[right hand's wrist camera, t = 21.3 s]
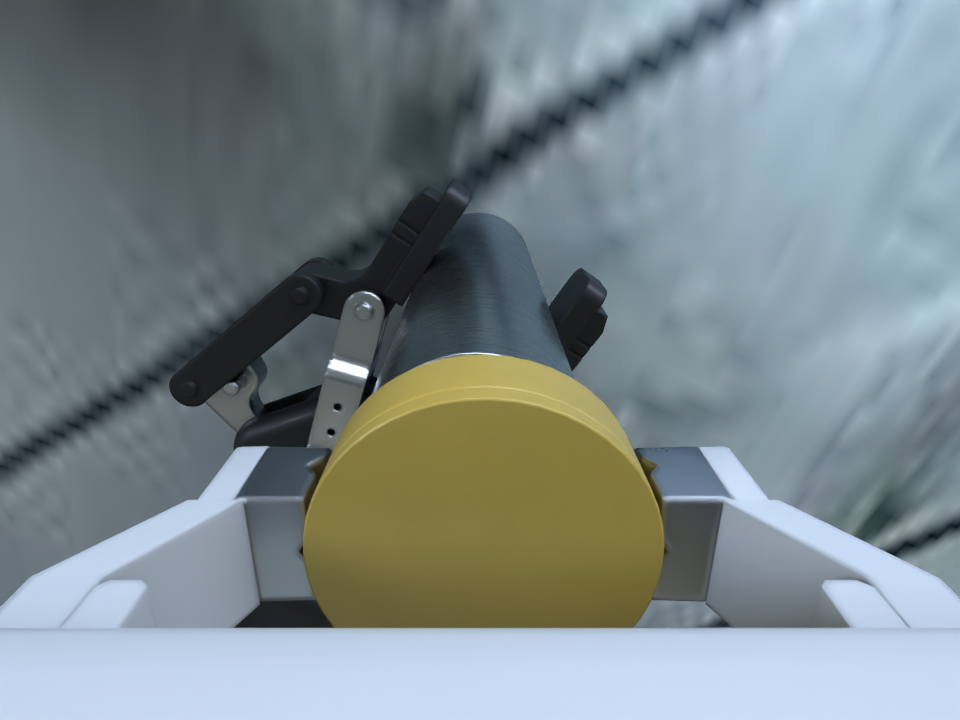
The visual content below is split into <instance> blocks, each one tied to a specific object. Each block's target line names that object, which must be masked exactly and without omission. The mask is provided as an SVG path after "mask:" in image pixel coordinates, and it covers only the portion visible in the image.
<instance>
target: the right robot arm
mask: <svg viewBox="0 0 960 720" xmlns="http://www.w3.org/2000/svg"><path fill="white" fill-rule="evenodd" d="M634 452H635V454H636V456H637V459H638V461H639V463H640V465H641V467H642V469H643V472H644V474H645V476H646V478H647V480H648V482H649V485H650V487H651V489H652V492H653V494H654V496H655V499H656V501H657V504H658V506H659V510H660V514H661V519H662V523H663V530H664V544H665V546H664V557H663V566H662V570H661V574H660V578H659V582H658V585H657V588H656V590H655V592H654V595H653V597H652V599H651V600H671V601H706V605H708V606H709V607H710V608H711V609H712V610H713V611H714V612H715V613H717V614H718V615H719V616H720V617H721V618H722V619H723V620H725V621H726V622H727V623H728V624H729V625H730V626H731V627H732V628H234V627H235V626H236V625H237V624H239V623H240V622H241V621H242V620H243V619H244V618H245V617H246V616H248V615H249V614H250V613H251V612H252V611H253V610H254V609H255V608H257V607H258V606H259V605H260V601H294V600H316V599H315V597H314V595H313V592H312V589H311V586H310V584H309V581H308V578H307V574H306V569H305V563H304V557H303V532H304V525H305V518H306V514H307V511H308V508H309V505H310V502H311V499H312V496H313V494H314V491H315V489H316V487H317V485H318V483H319V480H320V478H321V476H322V474H323V471H324V469H325V467H326V465H327V463H328V460H329V458H330V456H331V454H332V450H331V448H313V447H269V446H252V447H238V448H236V449H235V450H234V452H233V453H232V454H231V456H230V457H229V458H228V460H227V461H226V462H225V464H224V465H223V466H222V468H221V469H220V470H219V472H218V473H217V474H216V476H215V477H214V478H213V480H212V481H211V482H210V484H209V485H208V486H207V488H206V489H205V490H204V492H203V493H202V494H201V496H200V497H199V498H198V500H187V501H184V502H182V503H180V504H178V505H176V506H174V507H172V508H170V509H168V510H166V511H164V512H162V513H160V514H158V515H156V516H154V517H152V518H150V519H148V520H146V521H144V522H142V523H140V524H137V525H135V526H133V527H131V528H129V529H127V530H125V531H123V532H121V533H119V534H117V535H115V536H113V537H111V538H109V539H107V540H105V541H103V542H101V543H99V544H97V545H95V546H93V547H90V548H88V549H86V550H84V551H82V552H80V553H78V554H76V555H74V556H72V557H70V558H68V559H66V560H64V561H62V562H60V563H58V564H56V565H54V566H52V567H50V568H48V569H46V570H43V571H41V572H39V573H37V574H35V575H33V576H31V577H29V578H28V579H27V580H26V581H25V582H24V583H23V585H22V586H21V587H20V588H19V589H18V590H17V591H16V592H15V593H14V594H13V595H12V596H11V597H10V598H9V599H8V600H7V601H6V602H5V603H4V604H3V605H2V606H1V607H0V720H960V598H959V597H958V596H957V595H956V594H955V593H954V592H953V591H952V590H951V589H950V588H949V587H948V586H947V585H946V584H945V583H944V582H943V581H942V580H941V579H940V578H938V577H936V576H934V575H932V574H930V573H928V572H926V571H924V570H922V569H920V568H918V567H916V566H914V565H912V564H910V563H908V562H905V561H903V560H901V559H899V558H897V557H895V556H893V555H891V554H889V553H887V552H885V551H883V550H881V549H879V548H877V547H875V546H873V545H870V544H868V543H866V542H864V541H862V540H860V539H858V538H856V537H854V536H852V535H850V534H848V533H846V532H844V531H842V530H840V529H838V528H836V527H833V526H831V525H829V524H827V523H825V522H823V521H821V520H819V519H817V518H815V517H813V516H811V515H809V514H807V513H805V512H803V511H801V510H798V509H796V508H794V507H792V506H790V505H788V504H786V503H784V502H782V501H780V500H769V499H768V498H767V497H766V495H765V494H764V493H763V491H762V490H761V489H760V488H759V486H758V485H757V484H756V482H755V481H754V480H753V478H752V477H751V476H750V475H749V473H748V472H747V471H746V469H745V468H744V467H743V465H742V464H741V463H740V462H739V460H738V459H737V458H736V456H735V455H734V454H733V452H732V451H731V450H730V449H729V448H727V447H725V446H711V447H665V448H637V449H634Z"/></svg>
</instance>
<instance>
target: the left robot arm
mask: <svg viewBox="0 0 960 720" xmlns="http://www.w3.org/2000/svg"><path fill="white" fill-rule="evenodd" d="M472 194H473V192H472V191H471V190H469V189H468V188H466V187H465V186H464V185H462V184H461V183H459V182H458V181H456V180H455V179H453V180H452V182H451V183H450V185H449V186H448V188H447V190H446V191H445V193H444V194H443V195H442V194H440V193H439V192H437V191H436V190H434V189H433V188H431V187H430V186H428V187H427V188H425V189H424V190H423V191H421V192H420V193H418V194H417V195H416V196H414V198H413V199H412V200H411V201H410V202H409V204H408V206H407V207H406V209H405V210H404V212H403V214H402V215H401V217H400V219H399V220H398V222H397V223H396V225H395V227H394V228H393V230H392V232H391V233H390V235H389V236H388V238H387V240H386V241H385V243H384V245H383V246H382V248H381V249H380V251H379V253H378V254H377V256H376V257H375V259H374V261H373V262H372V264H371V265H370V266H368V267H367V268H365V269H362V270H349V269H345V268H341V267H336V266H334V264H333V263H332V262H330V261H329V260H327V259H325V258H320V257H317V258H312V259H310V260H309V261H307V262H306V263H305V264H303V265H302V266H301V267H300V268H299V269H298V270H296V271H295V272H294V273H293V274H292V275H290V276H289V277H288V278H287V279H285V280H284V281H283V282H282V283H281V284H280V285H278V286H277V287H276V288H275V289H274V290H273V291H271V292H270V293H269V294H268V295H267V296H266V297H264V298H263V299H262V300H261V301H260V302H259V303H257V304H256V305H255V306H254V307H253V308H252V309H250V310H249V311H248V312H247V313H246V314H245V315H243V316H242V317H241V318H240V319H239V320H238V321H236V322H235V323H234V324H233V325H232V326H231V327H229V328H228V329H227V330H226V331H225V332H224V333H222V334H221V335H220V336H219V337H218V338H217V339H215V340H214V341H213V342H212V343H211V344H210V345H208V346H207V347H206V348H205V349H204V350H203V351H201V352H200V353H199V354H198V355H197V356H196V357H194V358H193V359H192V360H191V361H190V362H189V363H187V364H186V365H185V366H184V367H183V368H182V369H180V370H179V371H178V372H177V373H176V374H175V375H174V376H173V377H172V378H171V380H170V384H169V388H170V392H171V394H172V396H173V397H174V398H175V399H176V400H177V401H178V402H179V403H181V404H183V405H186V406H191V407H194V406H199V405H201V404H203V403H204V402H205V403H206V404H207V405H208V406H209V407H210V408H211V409H212V410H213V411H215V412H216V413H217V414H218V415H219V416H220V417H221V418H222V419H223V420H224V421H225V422H226V423H227V424H228V425H229V426H230V427H232V428H233V429H234V430H235V431H236V432H237V434H236V437H235V440H234V450H235V449H236V448H238V447H252V446H269V447H313V448H331V450H332V451H333V449H334V447H335V445H336V443H337V441H338V439H339V437H340V435H341V433H342V431H343V429H344V427H345V425H346V424H347V422H348V421H349V420H350V418H351V417H352V415H353V414H354V413H355V411H356V410H357V409H358V408H359V407H360V406H361V405H362V404H363V403H364V402H365V401H366V400H367V399H368V397H369V396H371V395H372V392H373V390H374V387H375V385H376V382H377V379H378V378H376V377H374V376H373V375H374V371H375V367H376V364H377V360H378V357H379V353H380V349H381V346H382V340H383V336H384V332H385V328H386V325H387V321H388V318H389V314H390V311H391V310H392V308H393V307H394V305H395V304H396V303H397V304H399V305H400V306H402V305H403V304H404V302H405V301H406V299H407V298H408V296H409V295H410V293H411V292H412V290H413V288H414V286H415V285H416V283H417V282H418V280H419V279H420V277H421V276H422V275H423V273H424V272H425V270H426V269H427V267H428V266H429V264H430V262H431V261H432V259H433V258H434V256H435V255H436V253H437V252H438V250H439V249H440V247H441V246H442V244H443V243H444V241H445V239H446V238H447V236H448V235H449V233H450V232H451V230H452V229H453V227H454V226H455V224H456V223H457V221H458V220H459V218H460V216H461V215H462V213H463V212H464V210H465V209H466V207H467V205H468V204H469V202H470V200H471V198H472ZM606 295H607V290H606V289H605V288H604V286H603V285H602V284H601V282H600V281H599V280H598V279H596V278H595V277H593V276H592V275H591V274H589V273H588V272H586V271H585V270H583V269H582V268H580V269H578V270H577V271H576V272H575V273H574V274H573V275H572V276H571V277H570V279H569V280H568V281H567V283H566V284H565V285H564V287H563V288H562V289H561V291H560V292H559V293H558V295H557V296H556V297H555V299H554V300H553V301H552V303H551V304H550V305H549V307H548V308H549V310H550V313H551V316H552V319H553V321H554V324H555V327H556V330H557V332H558V335H559V338H560V341H561V343H562V346H563V349H564V352H565V355H566V357H567V360H568V363H569V366H570V368H571V371H573V370H574V368H575V367H576V366H577V364H578V363H579V362H580V361H581V359H582V357H584V356H585V354H586V353H587V352H588V351H589V349H590V347H591V346H593V344H594V343H595V342H596V341H597V339H598V338H599V337H600V336H601V334H602V333H603V330H604V327H605V324H606V320H607V317H608V316H607V314H606V313H605V311H604V310H603V308H602V307H601V305H602V304H603V302H604V300H605V298H606ZM312 313H313V314H317V315H322V316H326V317H330V318H335V319H339V320H340V324H339V328H338V332H337V336H336V340H335V344H334V348H333V352H332V355H331V359H330V361H329V364H328V366H327V369H326V372H325V375H324V379H323V383H322V385H319V386H316V387H313V388H310V389H308V390H305V391H302V392H299V393H296V394H293V395H290V396H287V397H284V398H281V399H279V400H276V401H273V402H270V403H267V404H263V403H262V401H261V399H260V397H259V387H260V385H261V383H262V382H263V381H264V380H265V378H266V376H267V366H266V364H265V362H264V361H263V359H262V357H261V355H262V354H263V353H265V352H266V351H267V350H268V349H269V348H271V347H272V346H273V345H274V344H275V343H277V342H278V341H279V340H280V339H282V338H283V337H284V336H285V335H286V334H288V333H289V332H290V331H291V330H292V329H294V328H295V327H296V326H297V325H298V324H300V323H301V322H302V321H303V320H304V319H306V318H307V317H308V316H309V315H310V314H312ZM234 628H334V627H333V626H332V625H331V623H330V622H329V620H328V619H327V617H326V616H325V615H324V613H323V612H322V610H321V608H320V606H319V604H318V603H317V601H316V600H294V601H260V605H259V606H258V607H257V608H255V609H254V610H253V611H252V612H251V613H250V614H249V615H248V616H246V617H245V618H244V619H243V620H242V621H241V622H240V623H239V624H237V625H236V626H235V627H234Z"/></svg>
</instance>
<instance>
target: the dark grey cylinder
mask: <svg viewBox="0 0 960 720" xmlns="http://www.w3.org/2000/svg"><path fill="white" fill-rule="evenodd" d="M464 355H500V356H511V357H515V358H520V359H525V360H529V361H533V362H536V363H539V364H542V365H545V366H548V367H550V368H553V369H555V370H557V371H559V372H561V373H563V374H565V375H567V376H569V377H571V378H573V379H574V377H573V374H572V371H571V368H570V366H569V363H568V360H567V357H566V355H565V352H564V349H563V346H562V343H561V341H560V338H559V335H558V332H557V330H556V327H555V324H554V321H553V319H552V316H551V313H550V310H549V308H548V305H547V302H546V299H545V297H544V294H543V291H542V288H541V286H540V283H539V280H538V277H537V275H536V272H535V269H534V266H533V264H532V261H531V258H530V255H529V253H528V250H527V247H526V245H525V242H524V240H523V239H522V237H521V235H520V234H519V233H518V232H517V230H516V229H515V228H514V227H513V226H512V225H510V224H509V223H508V222H506V221H505V220H503V219H501V218H499V217H496V216H493V215H490V214H484V213H471V214H466V215H462V216H460V218H459V220H458V221H457V223H456V224H455V226H454V227H453V229H452V230H451V232H450V233H449V235H448V236H447V238H446V239H445V241H444V243H443V244H442V246H441V247H440V249H439V250H438V252H437V253H436V255H435V256H434V258H433V259H432V261H431V262H430V264H429V266H428V267H427V269H426V270H425V272H424V273H423V275H422V276H421V277H420V279H419V280H418V282H417V283H416V285H415V286H414V288H413V290H412V292H411V295H410V298H409V300H408V303H407V305H406V308H405V310H404V313H403V315H402V318H401V321H400V323H399V326H398V328H397V331H396V333H395V336H394V339H393V341H392V344H391V346H390V349H389V351H388V354H387V356H386V359H385V362H384V364H383V367H382V369H381V372H380V374H379V377H378V379H377V382H376V385H375V387H374V390H373V392H372V394H373V393H374V392H376V391H377V390H378V389H380V388H381V387H382V386H383V385H385V384H386V383H388V382H389V381H391V380H393V379H394V378H396V377H398V376H399V375H401V374H403V373H405V372H407V371H410V370H412V369H414V368H417V367H419V366H421V365H424V364H427V363H431V362H434V361H438V360H441V359H445V358H452V357H458V356H464ZM574 380H575V379H574Z"/></svg>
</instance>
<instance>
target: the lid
mask: <svg viewBox="0 0 960 720" xmlns="http://www.w3.org/2000/svg"><path fill="white" fill-rule="evenodd" d="M664 546H665V544H664V530H663V523H662V519H661V514H660V510H659V506H658V504H657V501H656V499H655V496H654V494H653V492H652V489H651V487H650V485H649V482H648V480H647V478H646V476H645V474H644V472H643V469H642V467H641V465H640V463H639V461H638V459H637V456H636V454H635V452H634V450H633V448H632V445H631V443H630V441H629V439H628V437H627V435H626V433H625V431H624V430H623V428H622V426H621V425H620V423H619V421H618V420H617V418H616V417H615V416H614V414H613V413H612V412H611V411H610V410H609V408H608V407H607V406H606V405H605V404H604V403H603V402H602V401H601V400H600V399H599V398H598V397H597V396H596V395H595V394H593V393H592V392H591V391H590V390H589V389H587V388H586V387H585V386H583V385H582V384H580V383H579V382H577V381H576V380H574V379H573V378H571V377H569V376H567V375H565V374H563V373H561V372H559V371H557V370H555V369H553V368H550V367H548V366H545V365H542V364H539V363H536V362H533V361H529V360H525V359H520V358H515V357H511V356H500V355H464V356H458V357H452V358H445V359H441V360H438V361H434V362H431V363H427V364H424V365H421V366H419V367H417V368H414V369H412V370H410V371H407V372H405V373H403V374H401V375H399V376H398V377H396V378H394V379H393V380H391V381H389V382H388V383H386V384H385V385H383V386H382V387H381V388H380V389H378V390H377V391H376V392H374V393H373V394H372V395H371V396H369V397H368V399H367V400H366V401H365V402H364V403H363V404H362V405H361V406H360V407H359V408H358V409H357V410H356V411H355V413H354V414H353V415H352V417H351V418H350V420H349V421H348V422H347V424H346V425H345V427H344V429H343V431H342V433H341V435H340V437H339V439H338V441H337V443H336V445H335V447H334V449H333V451H332V454H331V456H330V458H329V460H328V463H327V465H326V467H325V469H324V471H323V474H322V476H321V478H320V480H319V483H318V485H317V487H316V489H315V491H314V494H313V496H312V499H311V502H310V505H309V508H308V511H307V514H306V518H305V525H304V532H303V557H304V563H305V569H306V574H307V578H308V581H309V584H310V586H311V589H312V592H313V595H314V597H315V599H316V601H317V603H318V604H319V606H320V608H321V610H322V612H323V613H324V615H325V616H326V617H327V619H328V620H329V622H330V623H331V625H332V626H333V627H334V628H633V627H634V626H635V625H636V623H637V622H638V621H639V620H640V618H641V617H642V615H643V613H644V612H645V610H646V608H647V607H648V605H649V603H650V602H651V599H652V597H653V595H654V592H655V590H656V588H657V585H658V582H659V578H660V574H661V570H662V566H663V557H664Z"/></svg>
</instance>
